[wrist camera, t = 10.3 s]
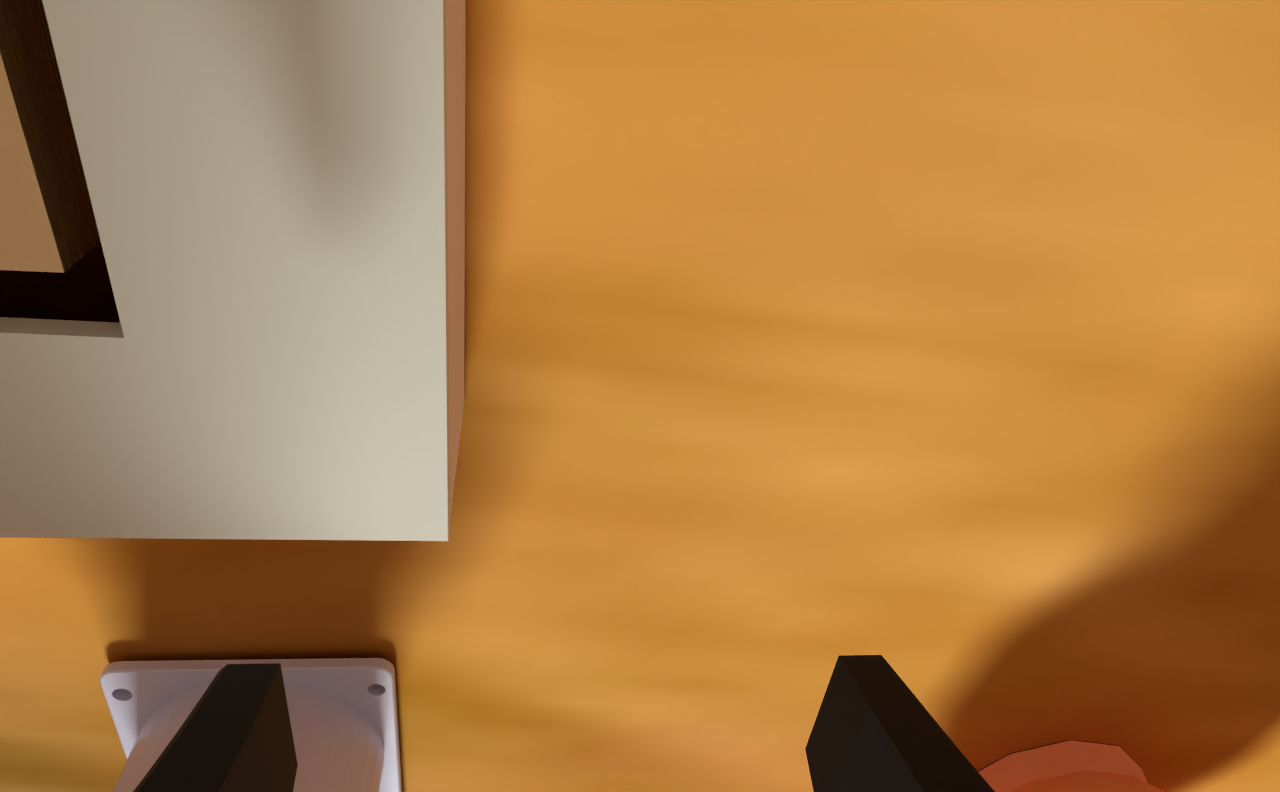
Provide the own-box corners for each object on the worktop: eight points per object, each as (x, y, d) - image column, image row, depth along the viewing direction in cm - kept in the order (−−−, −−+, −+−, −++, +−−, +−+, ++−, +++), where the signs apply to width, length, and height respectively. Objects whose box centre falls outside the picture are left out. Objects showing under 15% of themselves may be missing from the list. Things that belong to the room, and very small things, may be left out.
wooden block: (179, 170, 17) (64, 272, 13) (43, 162, 16) (-121, 265, 12) (122, -120, 14) (-48, -112, 10) (-42, -137, 14) (-289, -137, 10)
